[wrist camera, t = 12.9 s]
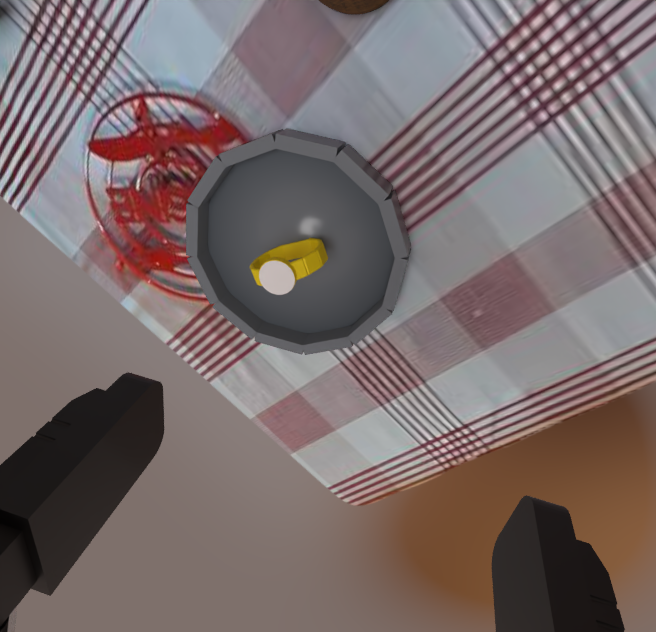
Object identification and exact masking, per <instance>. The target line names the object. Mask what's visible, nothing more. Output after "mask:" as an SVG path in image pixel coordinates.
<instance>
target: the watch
mask: <svg viewBox="0 0 656 632" xmlns="http://www.w3.org/2000/svg"><path fill="white" fill-rule="evenodd" d="M297 258H300V259H297ZM293 259H297V260H295V261H292V262H289V261H288V260H293ZM327 260H328V256H327V253H326V250H325V247H324V244H323V242H322V240H321V239H316V238H309V239H306V240H302V241H298V242H293V243H289V244H285V245H280V246H278V247H276V248H273V249H271V250H269V251H268V252H265V253H264V254H262V255H260V256H259V257H257V258H256V259H255V260H254V261H253V262H252V263H251V265H250V269H251V271H252V274H253V276H254V279H255V281H256V283H257V285H259V286H263V287H264V288H265V289H266V290H267V291H269V292H270V293H272V294H276V295H283V294H286V293H288V292H289V291H291V290H292V289H293V287H294V285H295V284H296V281H297V280H299V279H301V278H304V277H306V276H308V275H310V274H312V273H313V272H315V271H316V270H318V269H320V268H321V267H322V266H323V265H324V264H325V262H326V261H327Z"/></svg>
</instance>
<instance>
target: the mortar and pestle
mask: <svg viewBox="0 0 656 632" xmlns="http://www.w3.org/2000/svg"><path fill="white" fill-rule="evenodd" d="M319 1H320V2H322V3H323V4H324V5H326V6H328V7H329V8H332V9H334V10H336V11H339V12H342V13H346V14H363V13H367V12H371V11H373V10H375V9H377V8H379V7H381V6H382V5H384V4H385V3H386V2H388V1H389V0H319Z"/></svg>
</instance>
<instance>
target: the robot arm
mask: <svg viewBox="0 0 656 632" xmlns="http://www.w3.org/2000/svg"><path fill="white" fill-rule="evenodd" d="M163 408H164V407H163V386H162V384H161V383H160V382H158V381H155V380H152V379H149V378H145V377H142V376H139V375H135V374H132V373H126V374H123V375H122V376H121V377H120V378H119V379H117V380H116V381H115V382H114V383H113V384H112V386H110V387H109V388H108V389H107V390H106V391H104V390H101V389H98V388H96V389H94V390H92V391H90V392H88V393H86V394H84V395H82V396H80V397H78V398H76V399H74V400H72V401H71V402H69V403H68V404H67V405H66V406H65V407H64V408H63V409H62V410H61V411H60V412H58V413H57V414H56V415H55V416H54V417H53V418H52V421H51V422H47V423H46V424H45V425H44V426H43V427H42V428H41V429H40V430H39V431H37V433H36V435H35V436H34V437H31V438H30V439H29V440H28V441H27V442H25V443H24V444H23V445H22V446H21V447H20V448H19V449H18V450H17V451H15V452H14V453H13V454H12V455H11V456H10V457H9V458H8V459H7V460H5V461H4V462H3V463H2V464H1V465H0V632H14V631H15V622H16V606H17V605H18V604H19V603H20V601H21V600H22V599H23V598H24V596H25V595H26V594H27V593H28V591H29V590H30V589H34V590H36V591H39V592H42V593H44V594H47V595H51V594H52V593H53V592H54V590H55V589H56V588H57V586H58V585H59V583H60V582H61V581H62V580H63V578H64V577H65V576H66V574H67V573H68V572H69V570H70V569H71V567H72V566H73V565H74V563H75V562H76V561H77V560H78V558H79V557H80V556H81V554H82V553H83V551H84V550H85V549H86V547H87V546H88V545H89V543H90V542H91V541H92V539H93V538H94V536H95V535H96V534H97V533H98V531H99V530H100V528H101V527H102V526H103V525H104V523H105V522H106V521H107V519H108V518H109V517H110V515H111V514H112V513H113V511H114V510H115V509H116V507H117V506H118V505H119V503H120V502H121V501H122V499H123V498H124V496H125V495H126V494H127V492H128V491H129V490H130V488H131V487H132V486H133V484H134V483H135V482H136V480H137V479H138V478H139V476H140V475H141V474H142V472H143V471H144V470H145V468H146V467H147V466H148V464H149V463H150V462H151V460H152V459H153V457H154V456H155V454H156V453H157V451H158V449H159V447H160V444H161V442H162V439H163V434H164V409H163ZM492 578H493V594H494V609H495V624H496V632H624V630H625V629H624V625H623V622H622V618H621V615H620V611H619V610H618V609H617V607H616V605H617V601H616V598H615V594H614V591H613V587H612V584H611V580H610V577H609V574H608V572H607V570H606V568H605V567H604V566H603V564H602V562H601V561H600V559H599V557H598V556H597V554H596V553H595V551H594V550H593V548H592V546H591V545H590V544H589V543H586V542H582V541H579V540H576V537H575V533H574V529H573V525H572V521H571V517H570V514H569V512H568V510H567V509H566V508H565V507H563V506H559V505H556V504H553V503H550V502H546V501H543V500H540V499H536V498H533V497H530V496H524V497H523V498H522V499H521V500H520V502H519V504H518V505H517V507H516V509H515V510H514V512H513V513H512V515H511V517H510V518H509V520H508V522H507V523H506V525H505V526H504V528H503V530H502V531H501V533H500V534H499V536H498V538H497V541H496V543H495V546H494V550H493V556H492Z"/></svg>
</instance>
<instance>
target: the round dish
mask: <svg viewBox="0 0 656 632" xmlns="http://www.w3.org/2000/svg"><path fill="white" fill-rule="evenodd" d="M344 145H345V142H343V141H339V140H335V139H330V138H326V137H321V136H317V135H313V134H308V133H304V132H299V131H295V130H291V129H285V130H283V129H281V130H279V131H276V132H274V133H271V134H268V135H266V136H263V137H261V138H258V139H255V140H253V141H250V142H248V143H245V144H242V145H240V146H237V147H235V148H232V149H230V150H227V151H225V152H223V153H220V154H219V155H218V156H216V157H215V159H214V160H213V162H212V163H211V165H210V166H209V168H208V169H207V171H206V172H205V174H204V176H203V177H202V179H201V180H200V182H199V183H198V185H197V186H196V188H195V189H194V191H193V193H192V194H191V196H190V197H189V199H188V201H189V203H187V204H186V255H188V256H190V257H188V258H187V259H188V261H189V263H190V265H191V267H192V269H193V271H194V273H195V275H196V277H197V279H198V281H199V283H200V285H201V287H202V289H203V291H204V293H205V295H206V297H207V299H208V301H209V303H210V304H214V303H215V305H214V306H213V308H214V309H215V310H217V311H218V312H219V313H220V314H221V315H223V316H224V317H225V318H226V319H227V320H229V321H230V322H231V323H232V324H234V325H235V326H236V327H237V328H238V329H240V330H241V331H242V332H243V333H244V334H246V335H247V336H248V337H249V338H251V339H252V338H253V337H254V336H255V341H256V342H260V343H263V344H267V345H270V346H274V347H277V348H281V349H284V350H288V351H291V352H295V353H298V354H303V352H304V353H305V355H307V354H313V353H318V352H324V351H329V350H335V349H341V348H346V347H352V346H353V344H355V345H356V344H357V343H358V342H359V341H361V340H362V339H363V338H364V337H365V336H367V335H368V334H369V333H370V332H371V331H372V330H374V329H375V328H376V327H377V326H378V325H379V324H381V323H382V322H383V321H384V320H385V319H386V318H388V317H389V316H390V315H391V314H392V311H394V308H395V305H396V301H397V298H398V294H399V291H400V287H401V284H402V280H403V277H404V273H405V270H406V266H407V263H408V259H409V255H410V251H411V248H410V247H411V243H410V239H409V236H408V232H407V229H406V225H405V222H404V219H403V215H402V212H401V208H400V205H399V201H398V198H397V194H396V191H395V190H393V191H391V190H392V187H393V186H392V185H391V184H390V183H389V182H388V181H387V180H386V179H385V178H384V177H383V176H382V175H381V174H380V173H379V172H378V171H377V170H376V169H374V168H373V167H372V166H371V165H370V164H369V163H368V162H367V161H366V160H365V159H364V158H363V157H362V156H361V155H360V154H359V153H358V152H357V151H356V150H355V149H354V148H352V147H351V146H350V145H349V144H348V145H347V146H346V147H345V148H344ZM309 238H316V239H321V240H322V242H323V244H324V247H325V250H326V253H327V256H328V260H327V261H326V262H325V264H324V265H323V266H322V267H321V268H320V269H318V270H316V271H315V272H313V273H312V274H310V275H308V276H306V277H304V278H301V279H299V280H297V281H296V284H295V285H294V287H293V289H292V290H291V291H289V292H288V293H286V294H283V295H276V294H272V293H270V292H269V291H267V290H266V289H265V288H264V287H263V286H259V285H257V283H256V281H255V279H254V276H253V274H252V271H251V269H250V265H251V263H252V262H253V261H254V260H255V259H256V258H257V257H259V256H260V255H262V254H264V253H265V252H268V251H269V250H271V249H273V248H276V247H278V246H280V245H285V244H289V243H293V242H298V241H302V240H306V239H309ZM297 259H300V258H297ZM297 259H293V260H288V261H289V262H292V261H295V260H297Z"/></svg>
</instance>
